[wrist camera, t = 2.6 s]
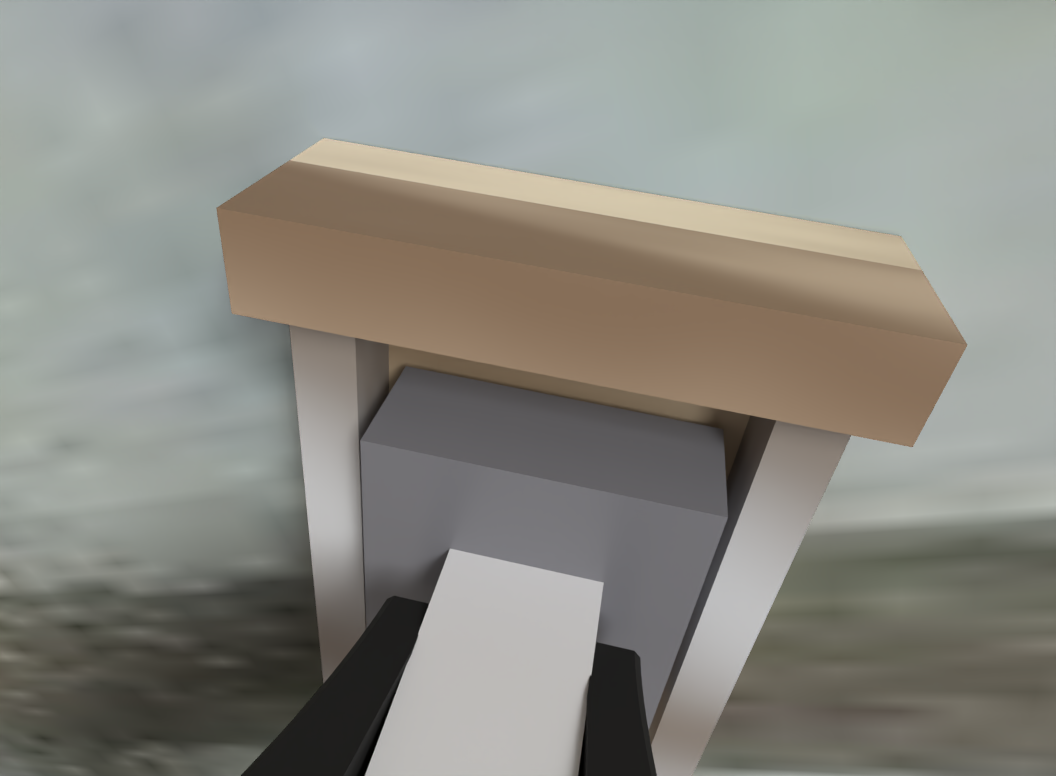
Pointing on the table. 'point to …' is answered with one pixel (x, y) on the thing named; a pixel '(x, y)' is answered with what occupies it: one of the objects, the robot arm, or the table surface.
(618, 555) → the carriage
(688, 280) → the rail track
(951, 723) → the table surface
